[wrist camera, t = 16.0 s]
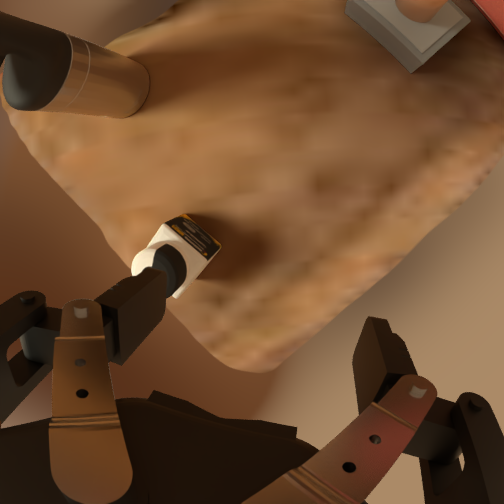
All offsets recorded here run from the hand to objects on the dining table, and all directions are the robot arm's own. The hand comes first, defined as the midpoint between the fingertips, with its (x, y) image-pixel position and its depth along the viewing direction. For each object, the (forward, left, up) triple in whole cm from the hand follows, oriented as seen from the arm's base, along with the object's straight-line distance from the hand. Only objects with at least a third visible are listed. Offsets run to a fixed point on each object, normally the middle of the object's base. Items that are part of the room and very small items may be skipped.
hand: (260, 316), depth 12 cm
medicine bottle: (-6, -15, -30) cm, 34 cm away
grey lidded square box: (-8, +30, -30) cm, 43 cm away
